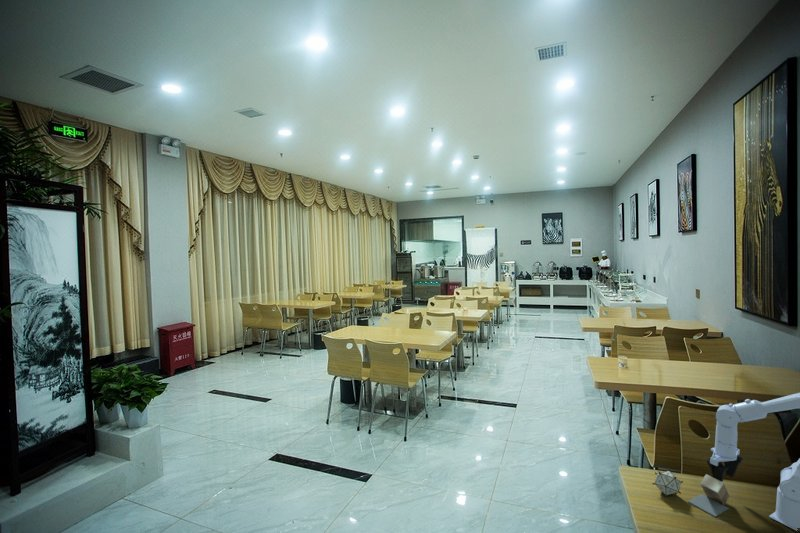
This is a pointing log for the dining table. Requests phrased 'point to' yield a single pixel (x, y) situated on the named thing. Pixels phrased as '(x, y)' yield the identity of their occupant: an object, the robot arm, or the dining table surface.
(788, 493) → the robot arm
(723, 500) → the pinkish beige block
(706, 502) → the mat
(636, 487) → the dining table surface
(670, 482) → the game die
